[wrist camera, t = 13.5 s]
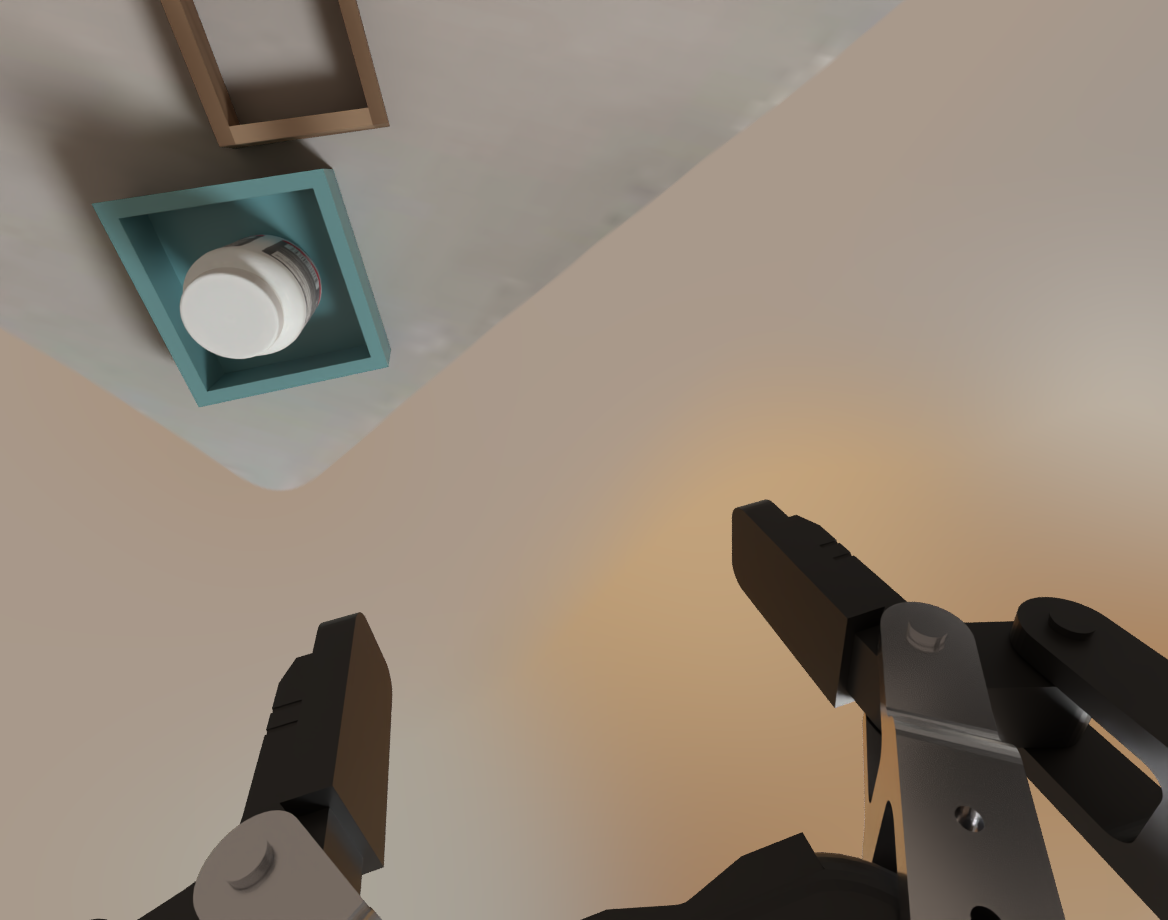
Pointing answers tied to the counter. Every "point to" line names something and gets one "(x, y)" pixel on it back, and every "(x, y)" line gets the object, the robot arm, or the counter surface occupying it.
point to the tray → (225, 215)
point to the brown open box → (236, 136)
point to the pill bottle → (250, 296)
